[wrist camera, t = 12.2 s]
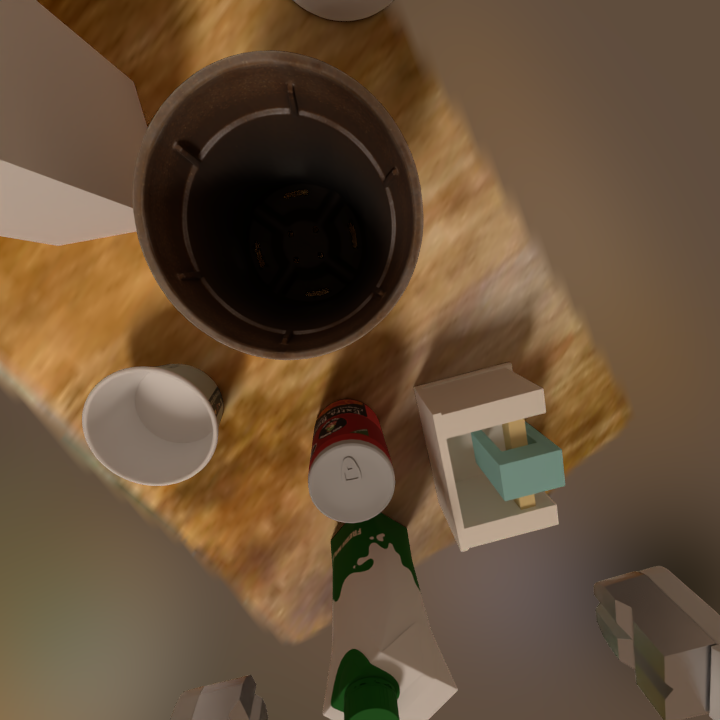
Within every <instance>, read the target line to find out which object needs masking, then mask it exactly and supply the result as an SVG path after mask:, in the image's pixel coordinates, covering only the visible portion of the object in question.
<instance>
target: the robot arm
mask: <svg viewBox="0 0 720 720" xmlns="http://www.w3.org/2000/svg"><path fill="white" fill-rule="evenodd" d="M293 1H294V2H295V3H297V4H298V5H300V6H301V7H302V8H304V9H305V10H307V11H309V12H311V13H313V14H315V15H317V16H320V17H323V18H326V19H330V20H336V21H353V20H359V19H363V18H366V17H369V16H372V15H374V14H376V13H378V12H379V11H381V10H383V9H384V8H386V7H387V6H388V5H389V4H391V3H392V2H393V1H394V0H293ZM594 595H595V597H596V598H597V599H598V600H599V602H600V603H599V605H598V606H597V608H596V617H597V622H598V625H599V627H600V630H601V632H602V634H603V636H604V638H605V640H606V641H607V643H608V645H609V647H610V648H611V649H612V651H613V652H614V654H615V655H616V656H617V658H618V659H619V660H620V661H622V662H623V663H625V664H626V665H628V666H630V667H631V668H633V669H634V670H635V675H636V683H637V685H638V686H639V688H640V689H641V690H642V692H643V693H644V694H645V696H646V697H647V699H648V700H649V701H650V703H651V704H652V705H653V707H654V708H655V709H656V711H657V712H658V713H659V715H660V716H661V717H662V719H663V720H682V719H686V718H690V717H695V716H699V715H704V714H708V713H710V715H709V716H710V717H711V718H712V719H714V720H720V615H719V614H718V613H717V612H715V611H714V610H713V609H712V608H711V607H710V606H709V605H708V604H706V603H705V602H704V601H703V600H702V599H701V598H700V597H698V596H697V595H696V594H695V593H694V592H693V591H692V590H690V589H689V588H688V587H687V586H686V585H685V584H684V583H683V582H681V581H680V580H679V579H678V578H677V577H676V576H674V575H673V574H672V573H671V572H670V571H669V570H668V569H666V568H664V567H662V566H655V567H651V568H648V569H645V570H641V571H638V572H636V571H634V572H631V573H627V574H624V575H620V576H617V577H613V578H610V579H606V580H603V581H600V582H596V583H595V585H594ZM255 689H256V683H255V681H254V679H253V677H252V676H251V675H248V676H244V677H240V678H236V679H232V680H228V681H224V682H220V683H215V684H211V685H206V686H202V687H199V688H195V689H191V690H187V691H184V692H183V693H182V695H181V696H180V698H179V699H178V701H177V702H176V705H175V708H174V710H173V713H172V716H171V718H170V720H268V715H267V710H266V705H265V703H264V701H263V699H262V698H261V697H259V696H257V695H256V694H255Z"/></svg>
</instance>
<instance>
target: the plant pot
mask: <svg viewBox="0 0 720 720" xmlns="http://www.w3.org/2000/svg"><path fill="white" fill-rule="evenodd" d="M296 190H308V191H309V193H308V195H306V196H302V195H301V196H298V197H290V198H288V199H284V198H283V197H284V195H285V194H286V193H288V192H292V191H296ZM133 212H134V219H135V225H136V231H137V235H138V239H139V242H140V246H141V249H142V251H143V254H144V257H145V259H146V261H147V263H148V266H149V268H150V270H151V272H152V274H153V276H154V278H155V280H156V281H157V283H158V285H159V286H160V288H161V289H162V291H163V292H164V294H165V295H166V296H167V298H168V299H169V300H170V302H171V303H172V304H173V305H174V306H175V308H176V309H177V310H178V311H179V312H180V313H181V314H182V315H183V316H184V317H185V318H186V319H187V320H188V321H190V322H191V323H192V324H193V325H195V326H196V327H197V328H198V329H200V330H201V331H203V332H204V333H206V334H207V335H208V336H210V337H212V338H213V339H215V340H216V341H218V342H220V343H222V344H224V345H226V346H228V347H230V348H233V349H235V350H238V351H241V352H244V353H246V354H250V355H253V356H258V357H262V358H268V359H277V360H298V359H307V358H312V357H317V356H321V355H325V354H328V353H331V352H334V351H337V350H339V349H341V348H344V347H346V346H348V345H350V344H351V343H353V342H355V341H356V340H358V339H360V338H361V337H363V336H364V335H366V334H367V333H368V332H370V331H371V330H372V329H373V328H374V327H376V326H377V325H378V324H379V323H380V322H381V321H382V320H383V319H384V318H385V317H386V316H387V315H388V314H389V312H390V311H391V310H392V309H393V307H394V306H395V305H396V303H397V302H398V300H399V299H400V297H401V296H402V294H403V293H404V291H405V289H406V287H407V285H408V283H409V281H410V279H411V277H412V274H413V272H414V269H415V266H416V263H417V260H418V256H419V252H420V247H421V242H422V234H423V205H422V195H421V187H420V182H419V178H418V173H417V169H416V166H415V163H414V160H413V157H412V154H411V152H410V149H409V147H408V145H407V143H406V141H405V139H404V137H403V135H402V133H401V131H400V130H399V128H398V126H397V125H396V123H395V122H394V120H393V118H392V117H391V116H390V114H389V113H388V112H387V111H386V109H385V108H384V107H383V106H382V104H381V103H380V102H379V101H378V100H377V99H376V98H375V97H374V96H373V95H372V94H371V93H370V92H369V91H368V90H367V89H366V88H365V87H363V86H362V85H361V84H360V83H358V82H357V81H356V80H354V79H353V78H351V77H350V76H348V75H347V74H345V73H344V72H342V71H340V70H339V69H337V68H335V67H333V66H331V65H329V64H327V63H325V62H323V61H320V60H317V59H315V58H312V57H308V56H305V55H301V54H296V53H291V52H285V51H255V52H248V53H241V54H237V55H233V56H230V57H227V58H224V59H221V60H219V61H217V62H214V63H212V64H210V65H208V66H206V67H205V68H203V69H201V70H199V71H198V72H196V73H195V74H193V75H192V76H191V77H190V78H188V79H187V80H186V81H185V82H183V83H182V84H181V85H180V86H179V87H178V88H176V90H175V91H174V92H173V93H172V94H171V95H170V96H169V97H168V98H167V99H166V101H165V102H164V103H163V104H162V105H161V107H160V108H159V110H158V111H157V113H156V114H155V116H154V118H153V119H152V121H151V123H150V125H149V127H148V129H147V131H146V133H145V136H144V138H143V141H142V144H141V147H140V150H139V153H138V157H137V161H136V167H135V173H134V181H133ZM349 223H352V224H353V225H354V228H355V232H356V237H357V248H356V249H354V248H353V246H352V239H351V233H350V231H349V228H348V224H349ZM314 226H317V227H318V228H319V232H318V233H314V232H313V229H312V228H313V227H314ZM290 230H291V231H293V232H294V236H293V237H289V236H288V231H290ZM256 241H257V242H258V243H259V244H260V250H261V254H262V258H263V260H264V262H265V267H264V268H261V267H260V265H259V263H258V259H257V256H256V252H255V242H256ZM319 252H323V254H324V258H321V259H320V258H319V257H318V255H317V254H318V253H319ZM295 256H296V257H298V258H299V263H295V262H294V261H293V258H294V257H295ZM323 288H328V289H329V293H327V294H324V295H320V296H306V295H305V293H307V292H311V291H316V290H321V289H323Z"/></svg>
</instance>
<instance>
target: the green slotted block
mask: <svg viewBox="0 0 720 720" xmlns="http://www.w3.org/2000/svg"><path fill="white" fill-rule="evenodd" d="M525 427H526V435H527V442H528V445H525V446H521V447H517V448H514V449H510V450H506V451H501V450H500V449H499V448H498V447H497V446H496V445H495V444H494V443H493V442H492V441H491V439H490V438H489V437H488V436H487V435H486V434H485V433H484V432H483V431H482V430H478V431H474V432H471V437H472V443H473V449H474V455H475V460H476V463H477V465H478V466H479V467H480V469H481V470H482V471H483V473H484V474H485V475H486V477H487V478H488V479H489V481H490V482H491V483H492V485H493V486H494V487H495V489H496V490H497V492H498V493H499V494H500V496H501V497H502V498H503V500H504V501H509V500H512V499H516V498H520V497H524V496H528V495H532V494H536V493H539V492H543V491H547V490H551V489H555V488H559V487H563V486H565V478H564V468H563V458H562V449H560V448H559V447H558V446H557V445H555V444H554V443H553V442H551V441H550V440H549V439H548V438H546V437H545V436H544V435H542V434H541V433H540V432H539V431H537V430H536V429H535V428H533V427H532V426H531V425H530V424H528V423H527V422H526V421H525Z"/></svg>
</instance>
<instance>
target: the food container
mask: <svg viewBox="0 0 720 720" xmlns="http://www.w3.org/2000/svg"><path fill="white" fill-rule="evenodd" d="M222 414H223V399H222V395H221V392H220V390H219V388H218V386H217V385H216V383H215V382H214V381H213V380H212V379H211V378H210V377H209V376H208V375H207V374H206V373H204V372H203V371H201V370H199V369H197V368H195V367H192V366H189V365H184V364H168V365H162V366H157V367H147V366H139V367H131V368H126V369H122V370H119V371H117V372H114V373H112V374H110V375H109V376H107V377H105V378H104V379H103V380H101V381H100V382H99V383H98V384H97V385H96V386H95V387H94V388H93V390H92V391H91V392H90V394H89V396H88V398H87V400H86V402H85V405H84V409H83V414H82V426H83V432H84V436H85V439H86V441H87V443H88V446H89V447H90V449H91V451H92V452H93V454H94V455H95V456H96V458H97V459H98V460H99V461H100V462H101V463H102V464H103V465H104V466H105V467H106V468H108V469H109V470H110V471H112V472H113V473H115V474H116V475H118V476H120V477H122V478H124V479H126V480H129V481H131V482H135V483H139V484H143V485H151V486H163V485H170V484H175V483H179V482H182V481H184V480H187V479H188V478H190V477H192V476H194V475H195V474H197V473H198V472H199V471H200V470H202V469H203V468H204V467H205V466H206V464H207V463H208V462H209V460H210V459H211V457H212V455H213V453H214V451H215V448H216V445H217V441H218V427H219V424H220V421H221V417H222Z"/></svg>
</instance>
